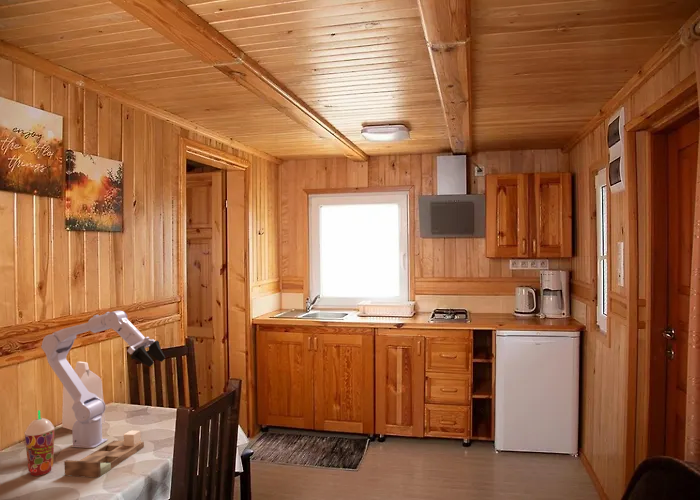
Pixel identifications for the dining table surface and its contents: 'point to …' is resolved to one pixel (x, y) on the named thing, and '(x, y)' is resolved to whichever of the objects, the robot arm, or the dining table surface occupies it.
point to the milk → (91, 384)
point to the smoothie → (39, 446)
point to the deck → (101, 459)
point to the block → (132, 438)
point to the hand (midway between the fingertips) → (157, 362)
